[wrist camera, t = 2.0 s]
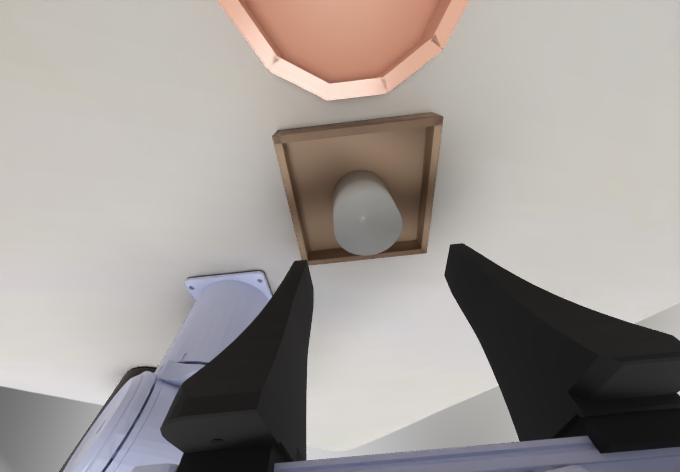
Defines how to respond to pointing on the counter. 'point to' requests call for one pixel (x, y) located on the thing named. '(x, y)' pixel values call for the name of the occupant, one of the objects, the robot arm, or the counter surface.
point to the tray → (360, 154)
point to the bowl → (345, 40)
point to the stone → (364, 214)
